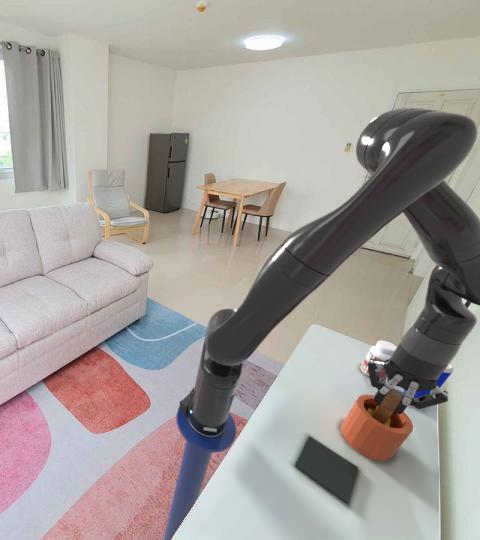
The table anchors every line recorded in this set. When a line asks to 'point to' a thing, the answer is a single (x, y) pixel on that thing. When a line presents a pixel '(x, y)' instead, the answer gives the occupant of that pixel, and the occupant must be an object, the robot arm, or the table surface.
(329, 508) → the table surface
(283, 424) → the table surface
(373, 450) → the jar
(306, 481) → the table surface
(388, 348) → the pill bottle
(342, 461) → the mat
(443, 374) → the beverage can
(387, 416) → the sponge brush
